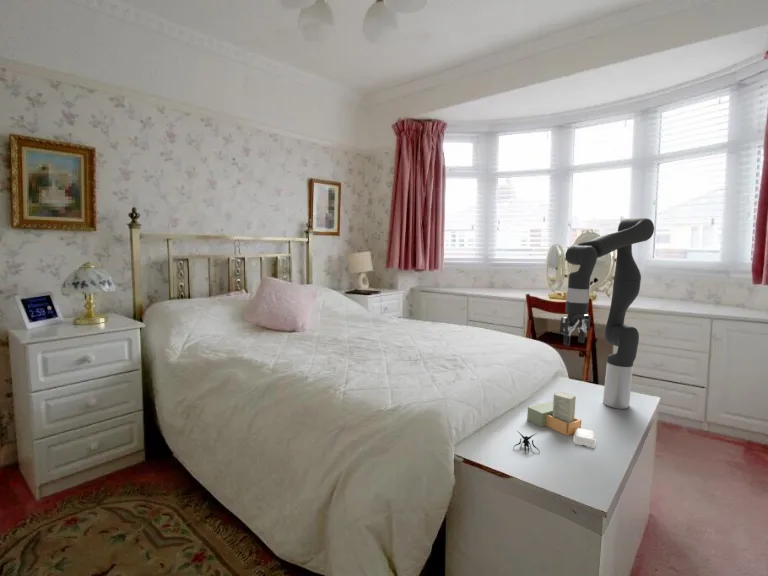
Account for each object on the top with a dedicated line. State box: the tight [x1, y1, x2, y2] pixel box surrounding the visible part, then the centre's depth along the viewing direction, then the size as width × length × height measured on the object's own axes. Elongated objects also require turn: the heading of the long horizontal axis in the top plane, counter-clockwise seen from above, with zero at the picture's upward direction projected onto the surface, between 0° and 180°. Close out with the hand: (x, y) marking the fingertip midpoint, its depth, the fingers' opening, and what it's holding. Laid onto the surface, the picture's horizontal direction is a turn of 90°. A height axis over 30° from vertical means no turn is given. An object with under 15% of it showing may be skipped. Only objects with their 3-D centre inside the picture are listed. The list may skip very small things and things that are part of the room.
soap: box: [572, 427, 597, 449], centre depth 141 cm, size 9×7×3 cm
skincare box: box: [552, 391, 576, 423], centre depth 149 cm, size 6×4×12 cm
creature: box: [513, 431, 540, 455], centre depth 133 cm, size 8×5×8 cm
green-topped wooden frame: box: [526, 401, 582, 437], centre depth 151 cm, size 12×15×5 cm
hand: (573, 343), depth 157 cm, fingers open, 8 cm apart
